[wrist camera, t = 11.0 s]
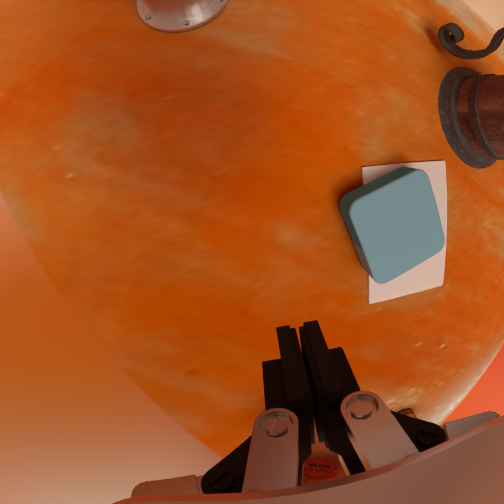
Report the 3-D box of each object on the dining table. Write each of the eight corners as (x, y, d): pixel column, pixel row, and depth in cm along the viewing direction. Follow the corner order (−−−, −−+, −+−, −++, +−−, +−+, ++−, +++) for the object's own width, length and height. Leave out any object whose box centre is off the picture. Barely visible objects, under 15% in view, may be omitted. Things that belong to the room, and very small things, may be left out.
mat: (361, 167, 35) (362, 167, 35) (443, 160, 35) (445, 160, 34) (368, 302, 42) (369, 304, 41) (441, 284, 41) (442, 285, 41)
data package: (365, 275, 40) (430, 238, 38) (377, 289, 36) (447, 247, 34) (334, 198, 36) (408, 162, 35) (345, 205, 32) (425, 165, 30)
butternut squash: (341, 384, 47) (381, 503, 24) (347, 423, 52) (376, 522, 28) (267, 404, 49) (276, 528, 25) (283, 440, 53) (294, 542, 29)
